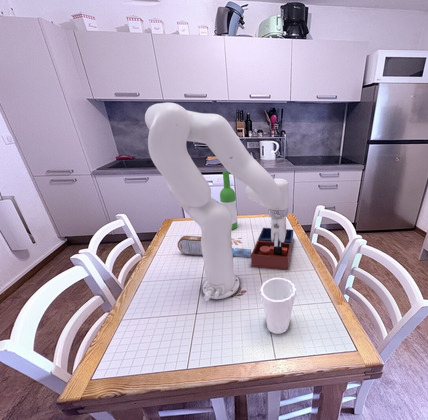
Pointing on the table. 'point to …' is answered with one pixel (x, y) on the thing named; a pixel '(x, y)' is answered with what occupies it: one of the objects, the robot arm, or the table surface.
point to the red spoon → (271, 250)
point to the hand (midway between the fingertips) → (278, 252)
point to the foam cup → (278, 303)
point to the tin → (190, 245)
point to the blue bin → (266, 236)
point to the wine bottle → (229, 198)
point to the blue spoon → (241, 252)
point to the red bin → (270, 257)
